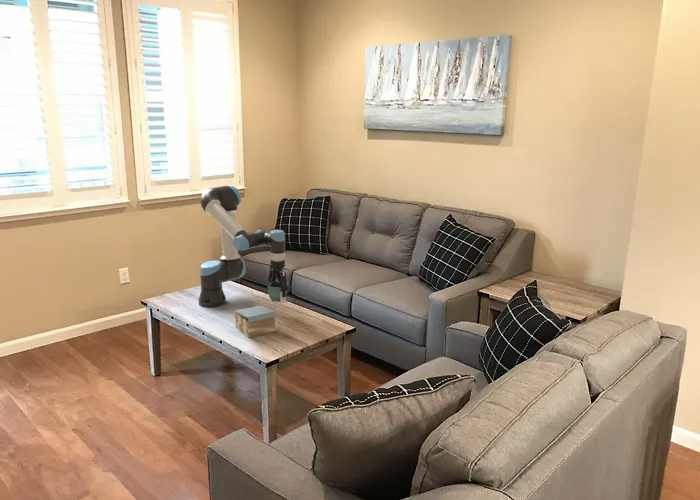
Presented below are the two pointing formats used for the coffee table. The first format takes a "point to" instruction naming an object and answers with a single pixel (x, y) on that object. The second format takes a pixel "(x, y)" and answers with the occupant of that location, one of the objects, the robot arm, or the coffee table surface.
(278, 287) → the flower pot
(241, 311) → the lid
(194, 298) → the coffee table surface
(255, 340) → the coffee table surface
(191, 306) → the coffee table surface
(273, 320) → the crate
